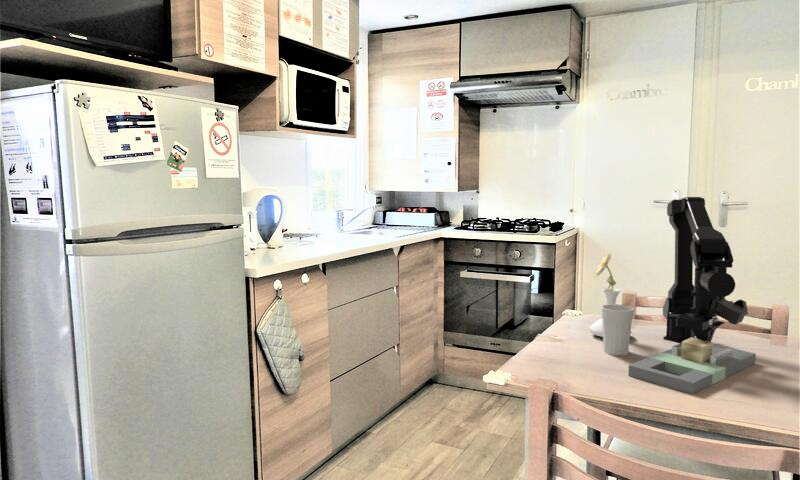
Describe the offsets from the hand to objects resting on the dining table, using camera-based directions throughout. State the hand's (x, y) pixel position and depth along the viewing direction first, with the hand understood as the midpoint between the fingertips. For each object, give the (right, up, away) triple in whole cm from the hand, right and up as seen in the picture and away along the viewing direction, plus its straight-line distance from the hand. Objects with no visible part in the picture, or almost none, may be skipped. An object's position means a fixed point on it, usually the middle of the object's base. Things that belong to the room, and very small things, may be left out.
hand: (704, 350), depth 144 cm
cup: (-18, -3, +11) cm, 21 cm away
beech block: (-3, -1, -2) cm, 4 cm away
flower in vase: (-15, -1, +25) cm, 29 cm away
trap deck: (-4, -4, -3) cm, 6 cm away
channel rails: (-1, -1, -1) cm, 2 cm away
